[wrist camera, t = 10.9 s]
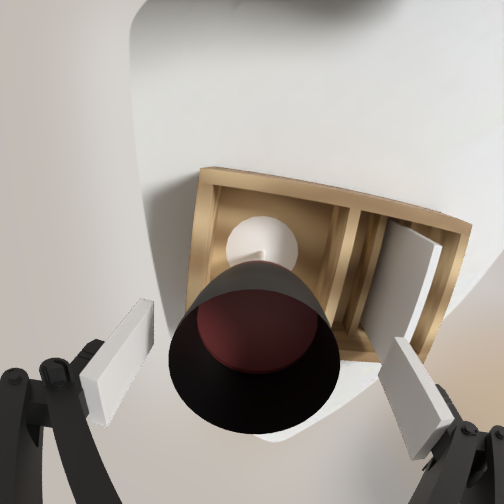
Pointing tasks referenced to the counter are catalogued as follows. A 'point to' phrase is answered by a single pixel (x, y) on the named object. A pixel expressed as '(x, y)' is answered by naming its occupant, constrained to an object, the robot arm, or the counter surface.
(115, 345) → the robot arm
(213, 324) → the wineglass
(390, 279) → the white flat panel
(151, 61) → the counter surface
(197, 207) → the wooden divided tray
